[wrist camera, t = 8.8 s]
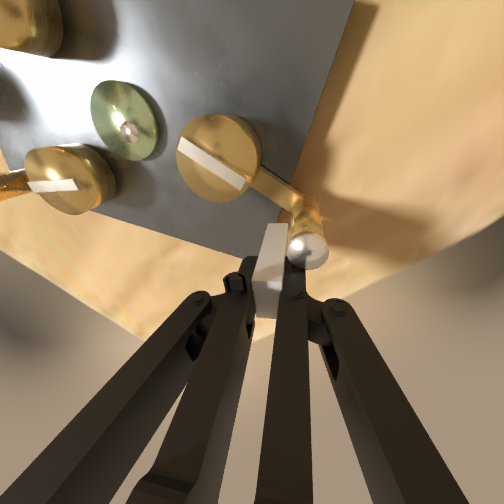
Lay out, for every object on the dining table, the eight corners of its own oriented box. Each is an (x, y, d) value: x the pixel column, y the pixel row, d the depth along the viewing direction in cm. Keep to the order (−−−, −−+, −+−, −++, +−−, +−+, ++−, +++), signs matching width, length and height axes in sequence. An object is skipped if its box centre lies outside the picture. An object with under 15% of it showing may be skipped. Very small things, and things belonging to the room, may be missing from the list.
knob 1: (98, 140, 17) (0, 153, 11) (125, 201, 19) (57, 235, 14) (3, 152, 19) (-116, 168, 13) (39, 205, 22) (-48, 236, 16)
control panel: (29, 184, 22) (8, 189, 20) (-93, -127, 12) (-156, -165, 10) (263, 257, 22) (260, 269, 20) (352, 1, 11) (361, -18, 10)
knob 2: (186, 166, 16) (130, 192, 11) (211, 97, 13) (152, 87, 8) (296, 236, 18) (294, 290, 12) (339, 188, 15) (360, 230, 10)
